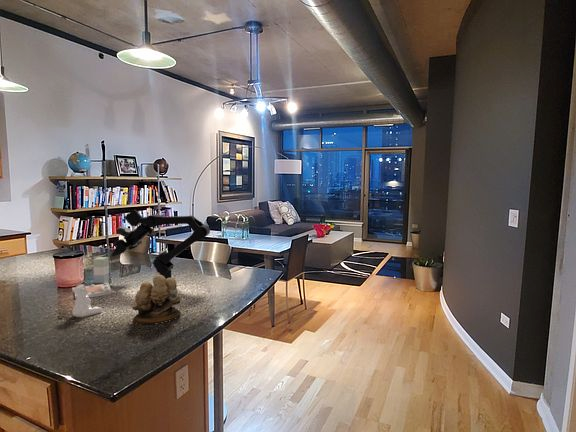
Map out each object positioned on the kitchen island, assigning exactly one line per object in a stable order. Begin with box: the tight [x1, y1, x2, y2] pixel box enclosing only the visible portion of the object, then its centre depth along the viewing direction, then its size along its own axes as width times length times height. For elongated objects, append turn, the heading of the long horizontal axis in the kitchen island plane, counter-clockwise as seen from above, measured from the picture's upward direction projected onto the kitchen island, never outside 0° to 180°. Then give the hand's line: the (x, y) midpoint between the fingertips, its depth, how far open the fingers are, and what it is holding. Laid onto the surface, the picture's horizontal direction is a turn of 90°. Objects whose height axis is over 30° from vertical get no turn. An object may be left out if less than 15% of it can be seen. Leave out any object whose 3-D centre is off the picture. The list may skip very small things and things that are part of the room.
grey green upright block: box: [92, 256, 110, 284], centre depth 176 cm, size 5×5×12 cm
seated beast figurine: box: [71, 283, 103, 318], centre depth 134 cm, size 10×9×12 cm
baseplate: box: [74, 282, 112, 300], centre depth 161 cm, size 14×14×2 cm
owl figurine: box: [131, 273, 183, 325], centre depth 133 cm, size 18×12×17 cm, turn 120°
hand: (116, 253), depth 177 cm, fingers open, 9 cm apart
